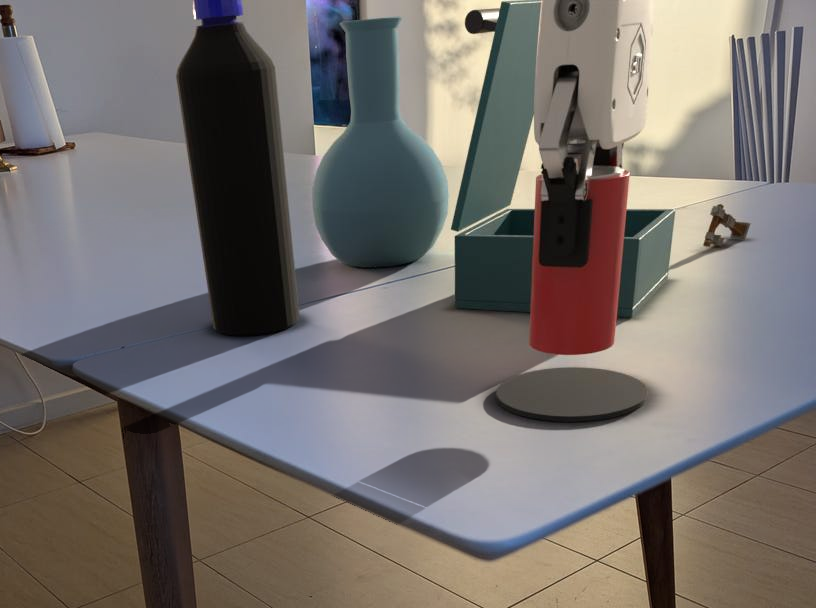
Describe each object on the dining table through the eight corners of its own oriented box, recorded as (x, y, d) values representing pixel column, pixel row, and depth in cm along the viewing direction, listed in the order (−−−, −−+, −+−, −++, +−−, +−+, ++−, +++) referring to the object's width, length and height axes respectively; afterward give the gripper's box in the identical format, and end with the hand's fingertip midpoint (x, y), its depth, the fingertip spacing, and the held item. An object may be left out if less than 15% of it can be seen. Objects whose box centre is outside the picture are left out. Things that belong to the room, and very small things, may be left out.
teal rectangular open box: (667, 280, 95) (675, 209, 91) (631, 317, 84) (639, 238, 80) (505, 274, 102) (506, 208, 99) (454, 308, 92) (454, 235, 88)
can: (631, 339, 66) (648, 166, 60) (580, 360, 63) (593, 180, 57) (563, 326, 70) (573, 163, 64) (512, 346, 67) (517, 175, 61)
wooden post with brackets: (694, 242, 104) (708, 200, 103) (723, 260, 110) (736, 220, 108) (709, 244, 103) (723, 201, 102) (737, 261, 109) (751, 221, 107)
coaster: (677, 389, 68) (677, 384, 67) (586, 433, 62) (587, 428, 62) (556, 363, 75) (556, 358, 75) (465, 401, 69) (465, 395, 69)
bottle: (289, 308, 97) (256, -14, 82) (308, 328, 90) (276, -21, 75) (207, 320, 96) (158, -5, 80) (220, 341, 89) (169, -12, 73)
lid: (563, 0, 86) (511, -13, 88) (510, 3, 76) (451, -11, 78) (510, 205, 98) (465, 191, 100) (457, 232, 88) (408, 216, 89)
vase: (466, 263, 109) (467, 9, 95) (331, 280, 107) (311, 23, 93) (425, 240, 123) (420, 15, 109) (305, 255, 120) (284, 27, 106)
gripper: (628, -92, 45) (597, 287, 55) (697, -76, 58) (662, 231, 67) (485, -72, 49) (480, 282, 58) (580, -62, 61) (563, 229, 71)
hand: (578, 252), depth 63 cm, fingers closed on can, 6 cm apart
